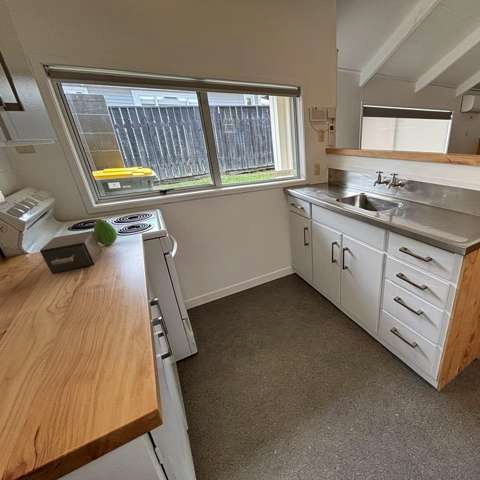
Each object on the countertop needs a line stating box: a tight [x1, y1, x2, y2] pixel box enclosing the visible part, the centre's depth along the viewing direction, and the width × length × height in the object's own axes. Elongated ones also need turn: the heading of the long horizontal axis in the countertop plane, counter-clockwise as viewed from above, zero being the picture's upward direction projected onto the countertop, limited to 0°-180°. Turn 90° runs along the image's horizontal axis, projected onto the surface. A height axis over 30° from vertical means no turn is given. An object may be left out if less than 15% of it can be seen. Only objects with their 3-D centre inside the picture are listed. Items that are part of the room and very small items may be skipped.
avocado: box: [93, 219, 118, 246], centre depth 117 cm, size 8×8×12 cm
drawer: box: [41, 245, 91, 273], centre depth 98 cm, size 18×11×8 cm, turn 29°
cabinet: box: [39, 230, 103, 274], centre depth 101 cm, size 15×13×10 cm
